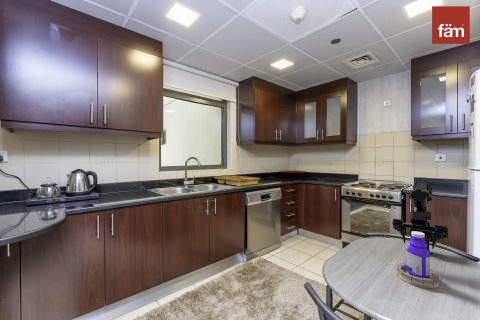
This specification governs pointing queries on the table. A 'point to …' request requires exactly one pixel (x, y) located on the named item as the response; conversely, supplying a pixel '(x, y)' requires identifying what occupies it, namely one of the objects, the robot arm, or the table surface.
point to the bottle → (418, 256)
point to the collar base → (416, 281)
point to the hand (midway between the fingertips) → (418, 245)
